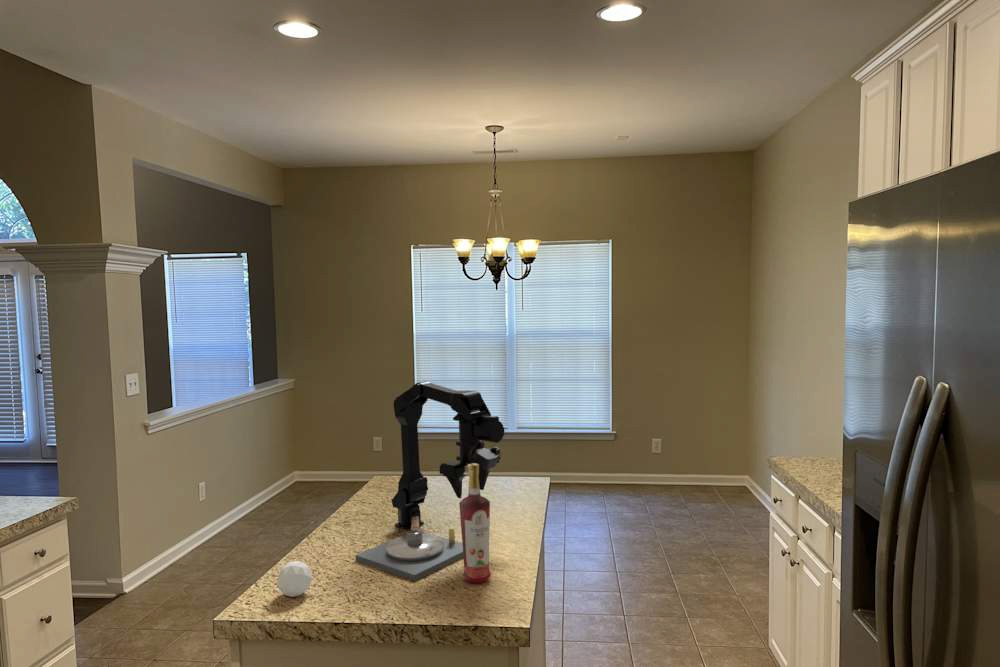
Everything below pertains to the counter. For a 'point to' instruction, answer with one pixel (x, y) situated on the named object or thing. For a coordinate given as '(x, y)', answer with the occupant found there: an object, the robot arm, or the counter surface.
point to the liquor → (475, 530)
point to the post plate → (413, 568)
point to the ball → (294, 578)
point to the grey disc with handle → (415, 545)
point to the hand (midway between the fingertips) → (470, 493)
